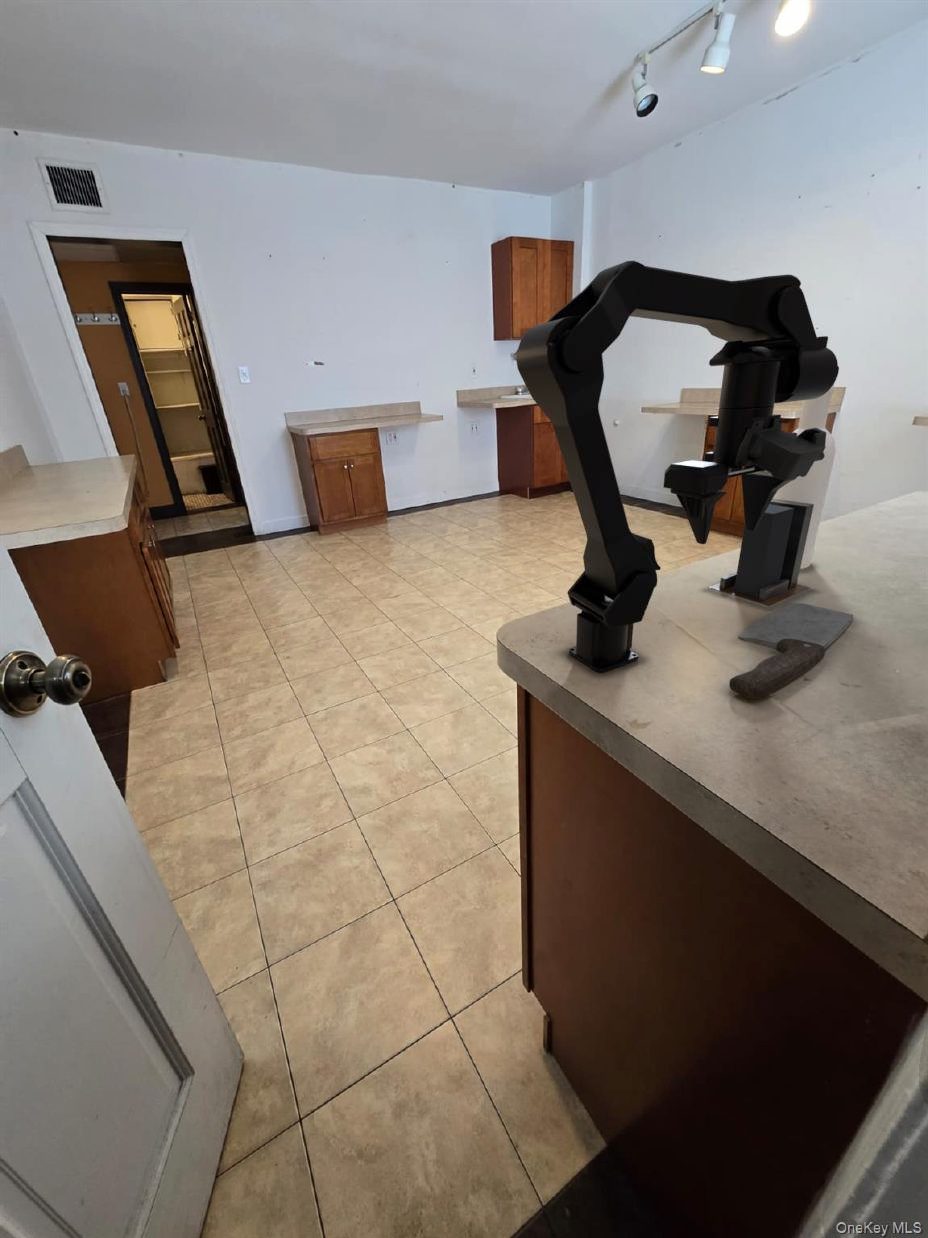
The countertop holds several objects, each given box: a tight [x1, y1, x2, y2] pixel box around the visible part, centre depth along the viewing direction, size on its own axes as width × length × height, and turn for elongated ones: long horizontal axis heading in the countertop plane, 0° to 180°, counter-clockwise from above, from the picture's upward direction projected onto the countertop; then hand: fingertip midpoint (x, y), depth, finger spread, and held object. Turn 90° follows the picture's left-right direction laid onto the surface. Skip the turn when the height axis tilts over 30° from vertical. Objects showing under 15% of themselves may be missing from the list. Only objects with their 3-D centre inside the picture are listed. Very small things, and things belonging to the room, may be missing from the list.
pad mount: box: [708, 499, 814, 607], centre depth 79 cm, size 11×10×14 cm
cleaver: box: [728, 602, 854, 699], centre depth 65 cm, size 29×10×2 cm, turn 133°
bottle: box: [773, 383, 837, 570], centre depth 85 cm, size 8×8×30 cm
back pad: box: [734, 504, 794, 599], centre depth 78 cm, size 5×4×13 cm
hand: (726, 536), depth 66 cm, fingers open, 9 cm apart
